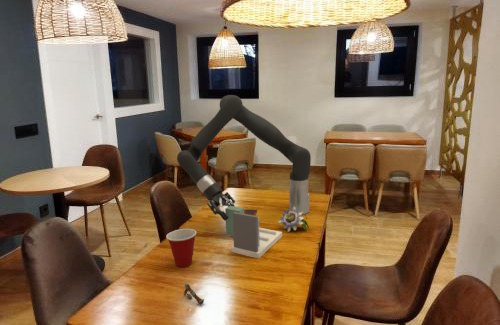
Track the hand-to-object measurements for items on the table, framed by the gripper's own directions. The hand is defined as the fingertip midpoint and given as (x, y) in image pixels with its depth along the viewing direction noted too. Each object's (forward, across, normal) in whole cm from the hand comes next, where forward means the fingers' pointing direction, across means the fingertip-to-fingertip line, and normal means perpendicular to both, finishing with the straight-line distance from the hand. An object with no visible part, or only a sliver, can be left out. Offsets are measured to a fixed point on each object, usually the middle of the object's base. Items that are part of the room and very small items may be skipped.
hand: (232, 216), depth 156 cm
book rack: (+16, -4, -4) cm, 17 cm away
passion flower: (+21, +17, -9) cm, 29 cm away
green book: (+7, 0, +5) cm, 8 cm away
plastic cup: (+4, -31, +8) cm, 32 cm away
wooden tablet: (+3, +18, +10) cm, 20 cm away
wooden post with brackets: (+16, -48, -4) cm, 51 cm away
